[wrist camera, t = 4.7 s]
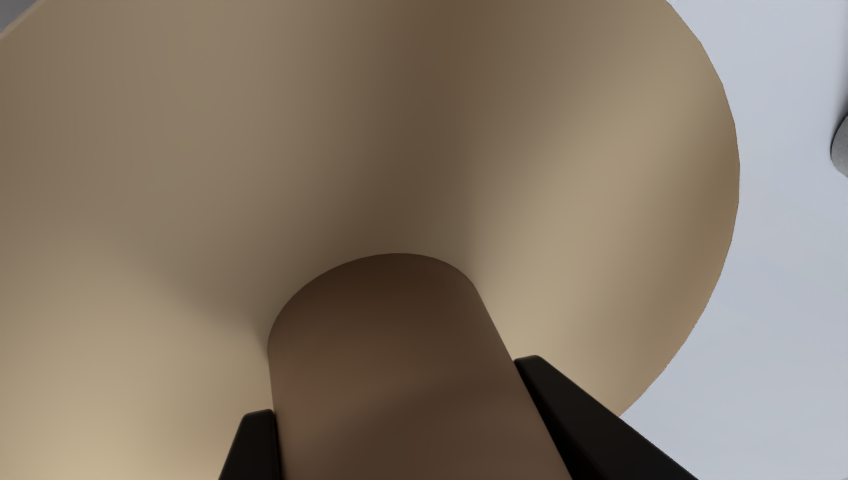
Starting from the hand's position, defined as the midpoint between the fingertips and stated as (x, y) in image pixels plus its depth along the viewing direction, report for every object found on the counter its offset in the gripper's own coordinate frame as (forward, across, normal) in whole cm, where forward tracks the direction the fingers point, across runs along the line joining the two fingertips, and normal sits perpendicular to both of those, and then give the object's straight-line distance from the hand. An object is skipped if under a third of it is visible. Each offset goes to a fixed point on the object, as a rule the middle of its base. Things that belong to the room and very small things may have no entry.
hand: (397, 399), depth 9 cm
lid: (+2, 0, 0) cm, 2 cm away
